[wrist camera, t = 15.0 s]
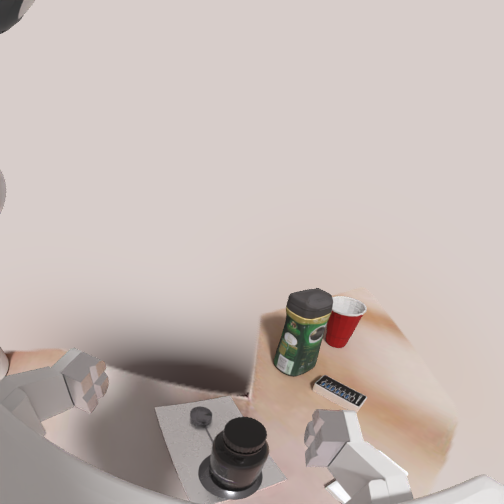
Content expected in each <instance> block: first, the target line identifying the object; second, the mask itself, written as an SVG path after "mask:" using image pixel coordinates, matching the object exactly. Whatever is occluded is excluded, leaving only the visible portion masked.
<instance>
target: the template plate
mask: <svg viewBox="0 0 504 504" xmlns="http://www.w3.org/2000/svg"><path fill="white" fill-rule="evenodd" d="M155 412H156V415H157V418H158V422H159V425H160V428H161V431H162V434H163V437H164V440H165V443H166V445H167V448H168V451H169V454H170V456H171V459H172V462H173V464H174V467H175V469H176V472H177V474H178V477H179V479H180V481H181V484H182V486H183V488H184V490H185V493H186V495H187V497H188V499H189V501H190V502H194V503H199V504H220V503H224V502H227V501H231V500H237V499H242V498H246V497H248V496H250V495H252V494H253V493H256V492H259V491H262V490H264V489H267V488H270V487H272V486H275V485H277V484H280V483H282V482H285V481H286V480H287V478H286V477H285V475H284V474H283V473H282V471H281V470H280V469H279V467H278V466H277V465H276V463H275V462H274V461H273V459H272V458H271V457H270V455H268V458H267V460H266V462H265V464H264V466H263V468H262V471H261V473H260V475H259V477H258V479H257V480H256V482H255V483H254V485H253V486H252V487H250V488H249V489H247V490H244V491H240V492H230V491H226V490H223V489H221V488H219V487H218V486H216V485H215V484H214V483H213V482H212V480H211V478H210V476H209V465H210V457H211V450H212V444H213V441H214V438H215V437H216V436H217V434H218V433H220V432H221V431H223V430H224V428H225V425H226V424H227V423H228V422H229V421H230V420H232V419H234V418H238V417H243V416H242V414H241V413H240V411H239V409H238V408H237V406H236V405H235V403H234V401H233V400H232V398H231V397H230V396H225V397H220V398H215V399H210V400H204V401H198V402H192V403H185V404H178V405H170V406H161V407H155Z"/></svg>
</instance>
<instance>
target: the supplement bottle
mask: <svg viewBox="0 0 504 504" xmlns="http://www.w3.org/2000/svg"><path fill="white" fill-rule="evenodd" d="M266 432H267V431H266V429H265V428H264V426H263V425H262V424H261V423H260V422H259V421H257V420H255V419H252V418H248V417H238V418H234V419H232V420H230V421H229V422H228V423H227V424H226V425H225V428H224V430H223V431H221V432H220V433H218V434H217V436H216V437H215V438H214V441H213V444H212V450H211V457H210V465H209V476H210V478H211V480H212V482H213V483H214V484H215V485H216V486H218V487H219V488H221V489H223V490H226V491H230V492H240V491H244V490H247V489H249V488H250V487H252V486H253V485H254V483H255V482H256V480H257V479H258V477H259V475H260V473H261V471H262V468H263V466H264V464H265V462H266V460H267V458H268V455H269V446H268V443H267V441H266V436H267V434H266Z"/></svg>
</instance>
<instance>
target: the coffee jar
mask: <svg viewBox="0 0 504 504" xmlns="http://www.w3.org/2000/svg"><path fill="white" fill-rule="evenodd" d="M332 307H333V298H332V296H331V295H330V294H329V293H327V292H325V291H323V290H321V289H319V288H316V289H309V290H303V291H299V292H295V293H291V294H290V296H289V299H288V302H287V306H286V314H287V316H286V322H285V326H284V329H283V333H282V336H281V339H280V342H279V345H278V348H277V351H276V354H275V358H274V364H275V366H276V367H277V368H278V369H279V370H280V371H281V372H282V373H284V374H287V375H290V376H298V375H301V374H304V373H306V372H308V371H309V370H311V369H312V368H313V367H314V366H315V364H316V361H317V358H318V354H319V349H320V345H321V342H322V338H323V334H324V330H325V327H326V324H327V322H328V319H329V317H330V315H331V312H332Z"/></svg>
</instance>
